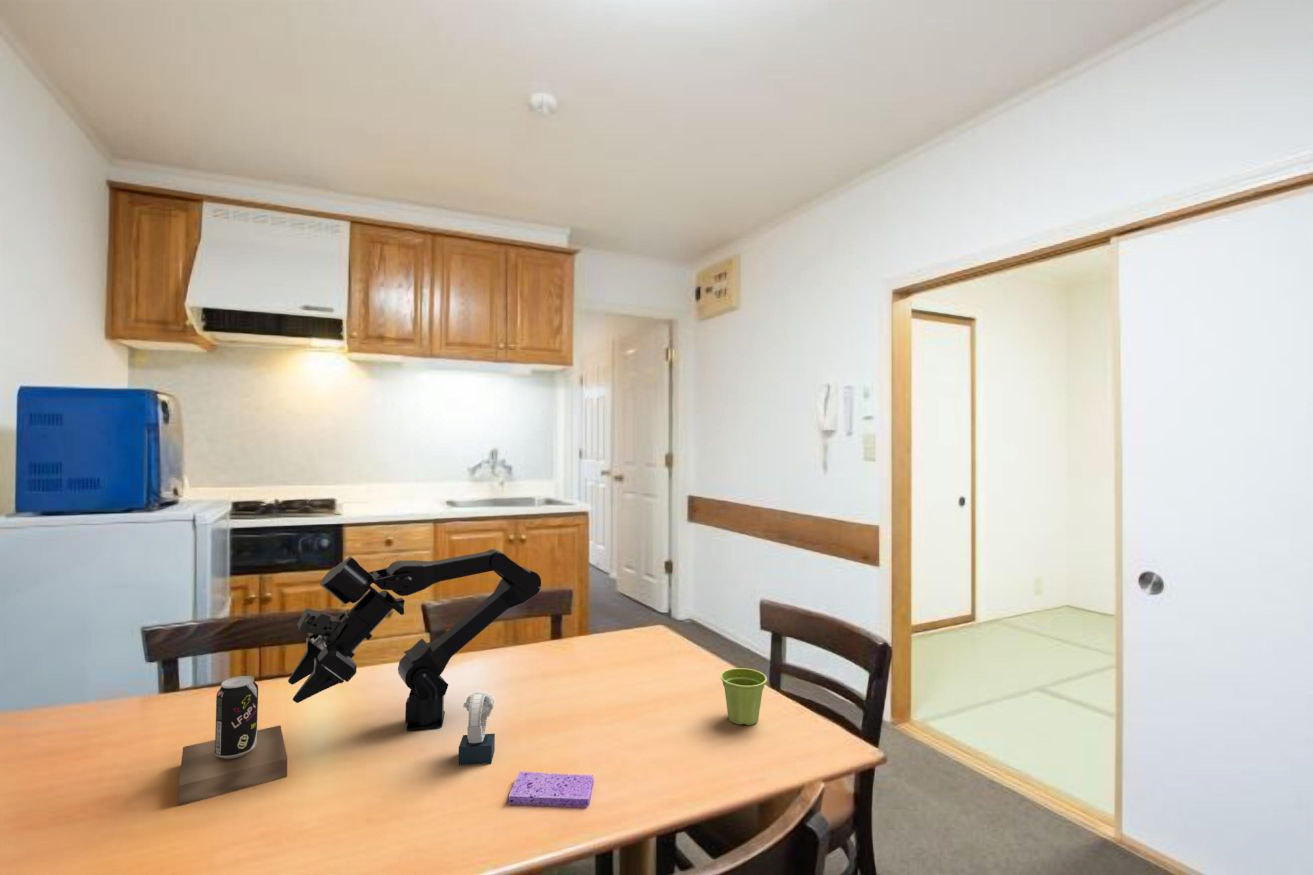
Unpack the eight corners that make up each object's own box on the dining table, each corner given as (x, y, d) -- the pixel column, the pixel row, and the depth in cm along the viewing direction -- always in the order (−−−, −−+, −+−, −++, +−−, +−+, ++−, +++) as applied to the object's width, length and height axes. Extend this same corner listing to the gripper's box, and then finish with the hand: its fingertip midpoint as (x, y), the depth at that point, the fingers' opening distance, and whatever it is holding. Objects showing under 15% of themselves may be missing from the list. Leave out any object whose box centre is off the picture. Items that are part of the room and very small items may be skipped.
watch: (495, 745, 109) (497, 685, 109) (489, 768, 101) (491, 704, 101) (464, 746, 108) (465, 686, 109) (455, 770, 101) (457, 705, 101)
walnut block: (280, 741, 109) (280, 725, 109) (286, 776, 98) (287, 758, 98) (182, 764, 101) (183, 746, 101) (178, 805, 90) (178, 785, 90)
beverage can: (263, 742, 103) (265, 673, 103) (246, 760, 97) (247, 686, 97) (226, 745, 102) (228, 674, 102) (207, 762, 96) (209, 688, 96)
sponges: (519, 782, 98) (519, 770, 98) (594, 784, 98) (595, 773, 98) (507, 807, 91) (507, 795, 91) (589, 810, 91) (589, 798, 91)
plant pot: (745, 734, 115) (746, 689, 115) (710, 717, 122) (711, 675, 122) (775, 720, 121) (776, 677, 121) (740, 704, 128) (741, 664, 128)
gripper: (322, 582, 115) (251, 649, 109) (336, 603, 100) (256, 684, 94) (365, 616, 120) (300, 683, 113) (386, 642, 105) (312, 721, 98)
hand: (292, 691), depth 104 cm, fingers open, 9 cm apart
